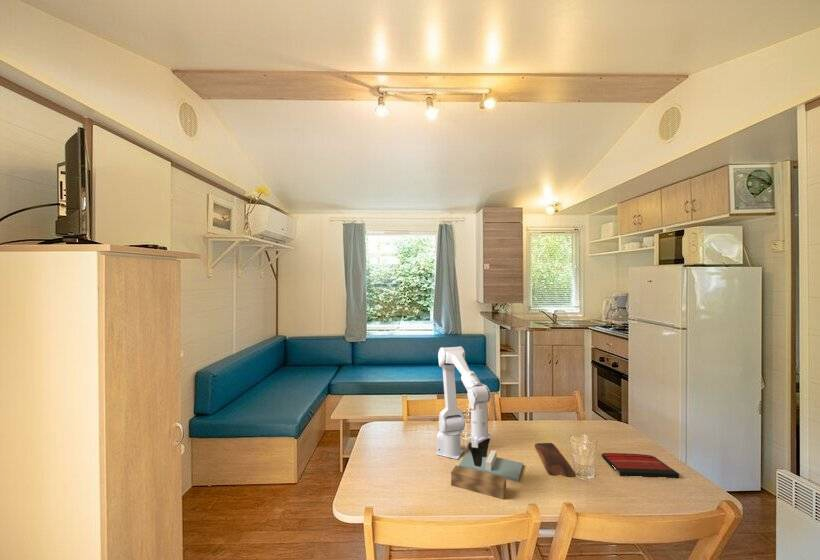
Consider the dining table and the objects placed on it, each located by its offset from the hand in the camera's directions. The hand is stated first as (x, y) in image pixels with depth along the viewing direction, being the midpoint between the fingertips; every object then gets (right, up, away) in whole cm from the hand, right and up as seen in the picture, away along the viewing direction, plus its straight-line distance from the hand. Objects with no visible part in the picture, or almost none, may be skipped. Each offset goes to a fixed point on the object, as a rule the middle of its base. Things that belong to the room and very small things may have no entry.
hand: (480, 461), depth 123 cm
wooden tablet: (+33, -10, +20) cm, 40 cm away
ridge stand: (+7, -9, +14) cm, 18 cm away
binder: (+64, -10, +15) cm, 66 cm away
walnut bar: (-1, -10, 0) cm, 10 cm away
